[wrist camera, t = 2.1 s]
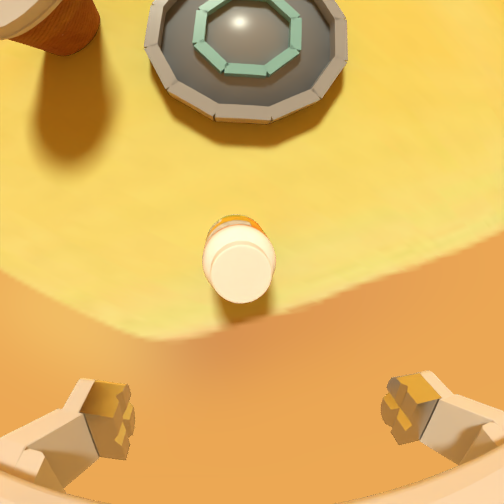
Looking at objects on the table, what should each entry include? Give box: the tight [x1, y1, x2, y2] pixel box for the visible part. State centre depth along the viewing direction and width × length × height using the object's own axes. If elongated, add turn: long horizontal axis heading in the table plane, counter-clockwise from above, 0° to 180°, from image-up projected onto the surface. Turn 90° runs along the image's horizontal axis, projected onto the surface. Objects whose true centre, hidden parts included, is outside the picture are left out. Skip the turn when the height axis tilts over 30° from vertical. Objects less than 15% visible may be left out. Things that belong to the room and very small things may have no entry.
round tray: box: [144, 0, 348, 124], centre depth 24 cm, size 18×18×2 cm
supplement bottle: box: [202, 214, 276, 303], centre depth 25 cm, size 5×5×10 cm
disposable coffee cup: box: [0, 0, 100, 56], centre depth 17 cm, size 10×10×12 cm
